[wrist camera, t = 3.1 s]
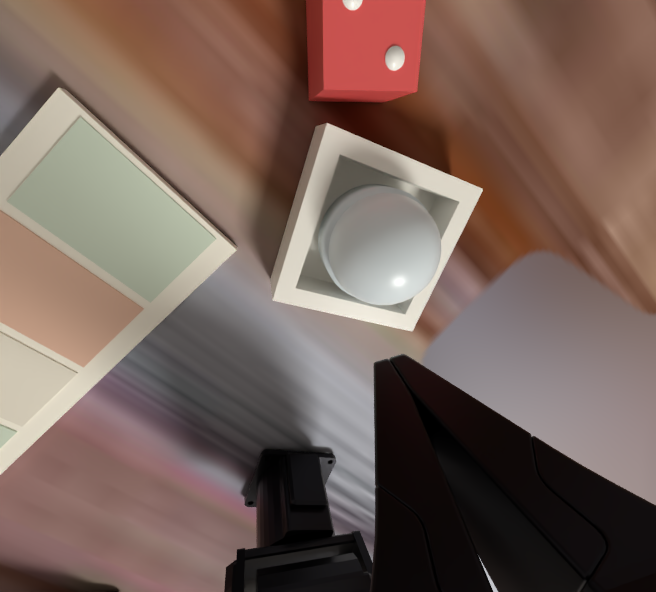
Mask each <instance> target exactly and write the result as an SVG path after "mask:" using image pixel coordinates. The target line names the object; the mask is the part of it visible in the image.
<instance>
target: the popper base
mask: <svg viewBox="0 0 656 592" xmlns="http://www.w3.org/2000/svg"><path fill="white" fill-rule="evenodd" d="M366 184H382V185H387V186H390V187H393V188H396V189H399V190H402V191H405V192H407V193H409V194H411V195H413V196H414V197H416V198H417V199H418V200H419V201H420V202H421V203H422V204H423V205H424V207H425V208H426V209H427V211H428V212H429V214H430V215H431V216H432V218H433V219H434V221H435V223H436V225H437V227H438V230H439V233H440V238H441V257H440V262H439V265H438V268H437V271H436V273H435V275H434V276H433V278H432V280H431V281H430V282H429V284H428V285H427V286H426V287H425V288H424V289H423V290H422V291H421V292H420V293H418V294H417V295H416V296H414V297H412V298H411V299H408V300H406V301H404V302H401V303H398V304H393V305H375V304H370V303H367V302H364V301H361V300H359V299H357V298H355V297H353V296H351V295H349V294H347V293H346V292H344V291H343V290H341V289H340V288H339V287H338V286H337V285H336V284H335V282H334V281H333V280H332V278H331V276H330V275H329V273H328V271H327V269H326V268H325V266H324V264H323V262H322V260H321V257H320V254H319V249H318V234H319V228H320V225H321V222H322V219H323V217H324V215H325V213H326V212H327V210H328V209H329V207H330V206H331V205H332V203H333V202H334V201H335V200H336V199H337V198H338V197H340V196H341V195H342V194H344V193H345V192H347V191H348V190H350V189H353V188H355V187H358V186H361V185H366ZM482 191H483V189H482V188H479V187H477V186H474V185H472V184H470V183H467V182H465V181H463V180H460V179H458V178H456V177H453V176H451V175H449V174H446V173H444V172H442V171H439V170H437V169H435V168H432V167H430V166H427V165H425V164H423V163H420V162H418V161H416V160H413V159H411V158H409V157H406V156H404V155H402V154H399V153H397V152H395V151H392V150H390V149H387V148H385V147H383V146H380V145H378V144H376V143H373V142H371V141H369V140H366V139H364V138H362V137H359V136H357V135H355V134H352V133H350V132H347V131H345V130H343V129H340V128H338V127H336V126H333V125H331V124H329V123H325V124H321V125H318V126H316V127H315V130H314V134H313V137H312V141H311V144H310V147H309V151H308V154H307V157H306V161H305V164H304V168H303V171H302V174H301V178H300V181H299V184H298V188H297V191H296V194H295V198H294V201H293V205H292V208H291V211H290V215H289V218H288V221H287V225H286V228H285V231H284V235H283V238H282V242H281V245H280V248H279V252H278V255H277V258H276V262H275V265H274V269H273V272H272V275H271V279H270V282H271V291H272V300H273V301H277V302H282V303H286V304H291V305H295V306H300V307H304V308H309V309H313V310H318V311H322V312H327V313H331V314H336V315H340V316H345V317H349V318H354V319H358V320H363V321H367V322H372V323H376V324H381V325H385V326H390V327H394V328H399V329H403V330H408V331H413V329H414V327H415V325H416V323H417V321H418V319H419V317H420V315H421V313H422V311H423V309H424V307H425V305H426V303H427V301H428V299H429V297H430V295H431V293H432V291H433V289H434V287H435V285H436V283H437V281H438V279H439V277H440V275H441V273H442V271H443V269H444V267H445V265H446V263H447V261H448V259H449V257H450V255H451V253H452V251H453V249H454V247H455V245H456V243H457V241H458V239H459V237H460V235H461V233H462V231H463V229H464V227H465V225H466V223H467V221H468V219H469V217H470V215H471V213H472V211H473V209H474V207H475V205H476V203H477V201H478V199H479V197H480V195H481V193H482Z"/></svg>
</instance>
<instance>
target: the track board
mask: <svg viewBox="0 0 656 592" xmlns="http://www.w3.org/2000/svg"><path fill="white" fill-rule="evenodd" d="M236 250H237V246H236V245H235V244H233V243H232V242H231V241H230V240H229V239H228V238H227V237H226V236H225V235H224V234H223V233H222V232H220V231H219V230H218V229H217V228H216V227H215V226H214V225H213V224H212V223H211V222H210V221H208V220H207V219H206V218H205V217H204V216H203V215H202V214H201V213H200V212H199V211H198V210H196V209H195V208H194V207H193V206H192V205H191V204H190V203H189V202H188V201H187V200H186V199H185V198H183V197H182V196H181V195H180V194H179V193H178V192H177V191H176V190H175V189H174V188H173V187H171V186H170V185H169V184H168V183H167V182H166V181H165V180H164V179H163V178H162V177H161V176H159V175H158V174H157V173H156V172H155V171H154V170H153V169H152V168H151V167H150V166H149V165H148V164H146V163H145V162H144V161H143V160H142V159H141V158H140V157H139V156H138V155H137V154H136V153H134V152H133V151H132V150H131V149H130V148H129V147H128V146H127V145H126V144H125V143H124V142H123V141H121V140H120V139H119V138H118V137H117V136H116V135H115V134H114V133H113V132H112V131H111V130H109V129H108V128H107V127H106V126H105V125H104V124H103V123H102V122H101V121H100V120H99V119H97V118H96V117H95V116H94V115H93V114H92V113H91V112H90V111H89V110H88V109H87V108H86V107H84V106H83V105H82V104H81V103H80V102H79V101H78V100H77V99H76V98H75V97H74V96H72V95H71V94H70V93H69V92H68V91H67V90H66V89H63V88H59V87H58V89H57V90H56V91H55V92H54V93H53V95H52V96H51V97H50V98H49V99H48V100H47V102H46V103H45V104H44V105H43V106H42V108H41V109H40V110H39V111H38V112H37V113H36V115H35V116H34V117H33V118H32V119H31V121H30V122H29V123H28V124H27V125H26V126H25V128H24V129H23V130H22V131H21V132H20V134H19V135H18V136H17V137H16V138H15V140H14V141H13V142H12V143H11V144H10V145H9V147H8V148H7V149H6V150H5V151H4V153H3V154H2V155H1V156H0V475H1V474H2V473H3V472H4V471H5V470H6V469H7V468H8V467H9V466H10V465H11V464H12V463H13V462H14V461H15V460H16V459H17V458H18V457H19V456H21V455H22V454H23V453H24V452H25V451H26V450H27V449H28V448H29V447H30V446H31V445H32V444H33V443H34V442H35V441H36V440H37V439H38V438H39V437H41V436H42V435H43V434H44V433H45V432H46V431H47V430H48V429H49V428H50V427H51V426H52V425H53V424H54V423H55V422H56V421H57V420H58V419H59V418H61V417H62V416H63V415H64V414H65V413H66V412H67V411H68V410H69V409H70V408H71V407H72V406H73V405H74V404H75V403H76V402H77V401H78V400H79V399H81V398H82V397H83V396H84V395H85V394H86V393H87V392H88V391H89V390H90V389H91V388H92V387H93V386H94V385H95V384H96V383H97V382H98V381H99V380H100V379H102V378H103V377H104V376H105V375H106V374H107V373H108V372H109V371H110V370H111V369H112V368H113V367H114V366H115V365H116V364H117V363H118V362H119V361H120V360H122V359H123V358H124V357H125V356H126V355H127V354H128V353H129V352H130V351H131V350H132V349H133V348H134V347H135V346H136V345H137V344H138V343H139V342H140V341H142V340H143V339H144V338H145V337H146V336H147V335H148V334H149V333H150V332H151V331H152V330H153V329H154V328H155V327H156V326H157V325H158V324H159V323H160V322H162V321H163V320H164V319H165V318H166V317H167V316H168V315H169V314H170V313H171V312H172V311H173V310H174V309H175V308H176V307H177V306H178V305H179V304H180V303H182V302H183V301H184V300H185V299H186V298H187V297H188V296H189V295H190V294H191V293H192V292H193V291H194V290H195V289H196V288H197V287H198V286H199V285H200V284H201V283H203V282H204V281H205V280H206V279H207V278H208V277H209V276H210V275H211V274H212V273H213V272H214V271H215V270H216V269H217V268H218V267H219V266H220V265H221V264H223V263H224V262H225V261H226V260H227V259H228V258H229V257H230V256H231V255H232V254H233V253H234V252H235V251H236Z"/></svg>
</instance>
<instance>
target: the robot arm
mask: <svg viewBox="0 0 656 592" xmlns="http://www.w3.org/2000/svg"><path fill="white" fill-rule="evenodd" d="M374 424H375V485H376V488H375V541H374V554H373V563H372V560H371V558H370V555H369V553H368V551H367V548H366V546H365V543H364V541H363V538H362V536H361V533H360V531H359V530H358V531H352V533H349V534H343V535H336V536H335V533H334V528H333V523H332V518H331V513H330V508H329V503H328V498H327V493H326V488H325V484H326V482H327V479H328V477H329V475H330V473H331V471H332V469H333V467H334V465H335V463H336V459H335V455H333V454H325V453H311V452H297V451H282V450H264V451H263V452H262V453H261V455H260V458H259V461H258V463H257V466H256V469H255V472H254V475H253V477H252V480H251V483H250V486H249V488H248V491H247V494H246V497H245V506H247V507H257V548H253V549H247V550H245V548H243V549H237V560H235V561H234V562H233V563H231V564H230V565H229V566H227V567H226V577H225V591H224V592H493V590H492V588H491V585H490V583H489V580H488V578H487V576H486V573H485V571H484V568H483V566H482V563H483V565H484V567H485V568H486V570H487V572H488V574H489V576H490V577H491V579H492V581H493V583H494V585H495V586H496V588H497V590H498V592H656V505H654V504H652V503H650V502H648V501H646V500H645V499H643V498H641V497H639V496H637V495H635V494H633V493H631V492H630V491H627V490H626V489H624V488H622V487H620V486H618V485H616V484H615V483H613V482H611V481H609V480H607V479H605V478H604V477H602V476H600V475H598V474H597V473H595V472H593V471H591V470H589V469H587V468H586V467H584V466H582V465H581V464H579V463H577V462H576V461H574V460H572V459H571V458H569V457H567V456H566V455H564V454H562V453H561V452H559V451H557V450H556V449H554V448H552V447H551V446H549V445H548V444H546V443H545V442H543V441H541V440H539V439H538V438H536V437H535V436H533V437H531V434H530V433H529V432H527V431H525V430H524V429H522V428H521V427H519V426H517V425H516V424H514V423H513V422H511V421H510V420H508V419H506V418H505V417H503V416H502V415H500V414H498V413H497V412H495V411H494V410H492V409H491V408H489V407H487V406H486V405H484V404H483V403H481V402H480V401H478V400H476V399H475V398H473V397H472V396H470V395H469V394H467V393H465V392H464V391H462V390H461V389H459V388H457V387H456V386H454V385H452V384H451V383H450V382H448V381H446V380H445V379H443V378H441V377H440V376H439V375H437V374H435V373H434V372H432V371H430V370H429V369H427V368H426V367H424V366H423V365H421V364H420V363H418V362H416V361H415V360H413V359H412V358H410V357H409V356H407V355H405V354H401V355H397V356H394V357H391V358H390V359H384V360H381V361H377V362H375V363H374ZM479 557H480V559H481V561H482V563H481V561H480V559H479Z"/></svg>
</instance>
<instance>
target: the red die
mask: <svg viewBox="0 0 656 592" xmlns="http://www.w3.org/2000/svg"><path fill="white" fill-rule="evenodd" d="M425 4H426V0H306V18H307V54H308V90H309V101H322V102H382V103H383V102H386V101H390V100H393V99H396V98H399V97H402V96H405V95H408V94H411V93H414V92H417V87H418V76H419V66H420V55H421V45H422V35H423V24H424V14H425Z"/></svg>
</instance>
